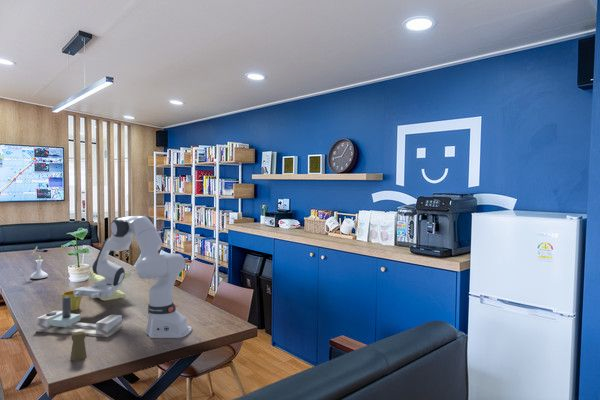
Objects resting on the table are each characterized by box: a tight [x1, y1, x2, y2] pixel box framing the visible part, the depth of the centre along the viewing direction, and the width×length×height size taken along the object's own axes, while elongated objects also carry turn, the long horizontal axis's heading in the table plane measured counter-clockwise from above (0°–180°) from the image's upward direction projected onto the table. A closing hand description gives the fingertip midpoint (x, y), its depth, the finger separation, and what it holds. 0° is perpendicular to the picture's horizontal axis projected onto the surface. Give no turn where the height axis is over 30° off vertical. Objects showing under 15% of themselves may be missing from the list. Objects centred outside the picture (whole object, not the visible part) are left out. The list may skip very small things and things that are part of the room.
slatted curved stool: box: [88, 268, 132, 301], centre depth 251 cm, size 30×16×18 cm, turn 44°
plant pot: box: [61, 290, 83, 311], centre depth 225 cm, size 10×10×10 cm
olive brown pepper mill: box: [70, 331, 88, 362], centre depth 164 cm, size 6×6×11 cm
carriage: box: [52, 297, 82, 328], centre depth 195 cm, size 8×10×14 cm
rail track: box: [36, 310, 123, 338], centre depth 194 cm, size 38×12×7 cm, turn 83°
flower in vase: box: [29, 246, 49, 280], centre depth 293 cm, size 13×11×25 cm
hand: (83, 296), depth 208 cm, fingers open, 8 cm apart
